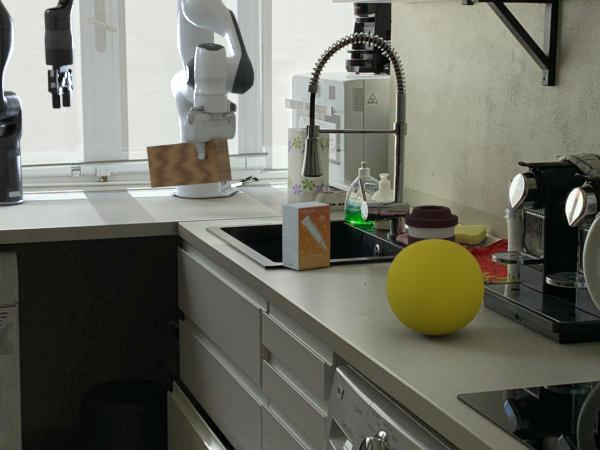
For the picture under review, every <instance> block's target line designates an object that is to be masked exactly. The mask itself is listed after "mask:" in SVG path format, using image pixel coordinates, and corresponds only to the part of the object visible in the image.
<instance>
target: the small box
mask: <svg viewBox="0 0 600 450" xmlns="http://www.w3.org/2000/svg"><path fill="white" fill-rule="evenodd" d="M281 216H282V217H281V218H282V219H281V222H282V223H281V224H282V225H281V226H282V227H281V228H282V229H281V231H282V233H281V236H282V242H281V244H282V266H283V267H286V268H288V269H289V268H290V269H291V270H296V271H301V270H302V271H303V270H309V269H318V268H319V269H320V268H326V267H330V266H331V204H328V203H323V202H319V201H314V200H313V201H305V202H303V201H302V202H294V203H285V204H282V205H281Z"/></svg>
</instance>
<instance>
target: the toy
mask: <svg viewBox="0 0 600 450" xmlns="http://www.w3.org/2000/svg"><path fill="white" fill-rule="evenodd" d="M385 290H386V291H385V292H386V296H387V297H386V298H387V302H388V304H389V307H390V310H391V311H392V313H393V315H394V316H395V318H396V319H397V320H398V321H399V322H400V323H401V324H402V325H403V326H405V327H406V328H408V329H410V330H411V331H413V332H416V333H418V334H422V335H426V336H445V335H450V334H453V333H456V332H458V331H460V330H462V329H463V328H465V327H467V326H468V325H469V324H470V323H471V322H472V321H474V319H475V318H476V316H477V315H478V313H479V312H480V309H481V307H482V304H483V302H484V296H485V279H484V275H483V271H482V269H481V266H480V264H479V262H478V260H477V259H476V258H475V256H474V255H473V254H472V253H471V252H470V251H469V250H468V249H467V248H465V247H464V246H463V245H460V244H459V243H457V242H455V243H454V242H451V241H447V240H442V239H427V240H422V241H418V242H415V243H413V244H411V245H409V246H408V245H407V246H406V247H404V248H403V249H402V250H400V251H399V252H398V253H397V254H396V256H395V257H394V259H393V260H392V262H391V264H390V266H389V269H388V271H387V275H386V284H385Z"/></svg>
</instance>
